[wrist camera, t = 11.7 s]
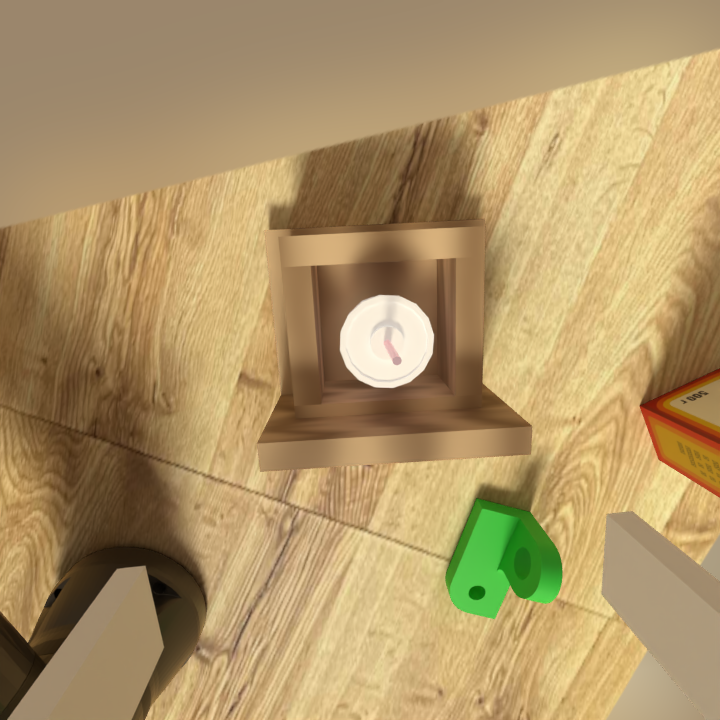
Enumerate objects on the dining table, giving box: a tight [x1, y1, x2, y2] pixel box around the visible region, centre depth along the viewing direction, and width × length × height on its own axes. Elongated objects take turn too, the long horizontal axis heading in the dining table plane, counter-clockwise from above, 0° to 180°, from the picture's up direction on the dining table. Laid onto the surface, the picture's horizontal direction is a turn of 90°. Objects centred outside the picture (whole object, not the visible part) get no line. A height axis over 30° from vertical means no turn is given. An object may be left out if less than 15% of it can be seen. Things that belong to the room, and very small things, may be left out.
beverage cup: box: [340, 295, 434, 388], centre depth 28 cm, size 6×6×14 cm
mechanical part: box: [445, 498, 562, 619], centre depth 39 cm, size 12×6×8 cm, turn 163°
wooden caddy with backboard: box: [257, 219, 532, 472], centre depth 31 cm, size 18×16×12 cm
